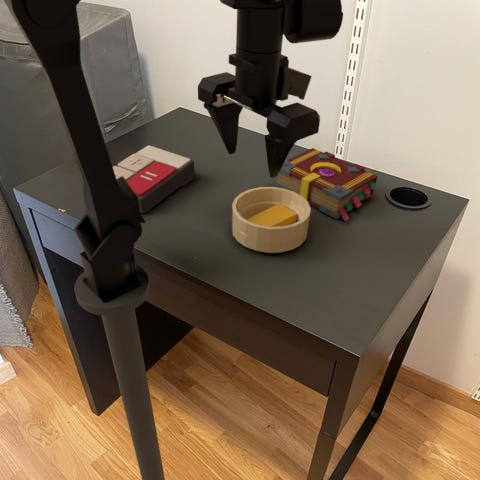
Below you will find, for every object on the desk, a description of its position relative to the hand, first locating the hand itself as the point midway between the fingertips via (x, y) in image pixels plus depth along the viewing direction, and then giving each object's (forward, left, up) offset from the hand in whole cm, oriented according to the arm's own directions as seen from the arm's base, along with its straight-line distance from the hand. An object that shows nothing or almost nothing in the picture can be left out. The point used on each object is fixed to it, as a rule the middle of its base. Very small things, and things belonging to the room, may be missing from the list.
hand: (252, 164), depth 71 cm
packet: (+2, -3, -11) cm, 12 cm away
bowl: (+2, -3, -12) cm, 12 cm away
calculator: (-5, +22, -12) cm, 26 cm away
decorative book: (+19, 0, -12) cm, 22 cm away
